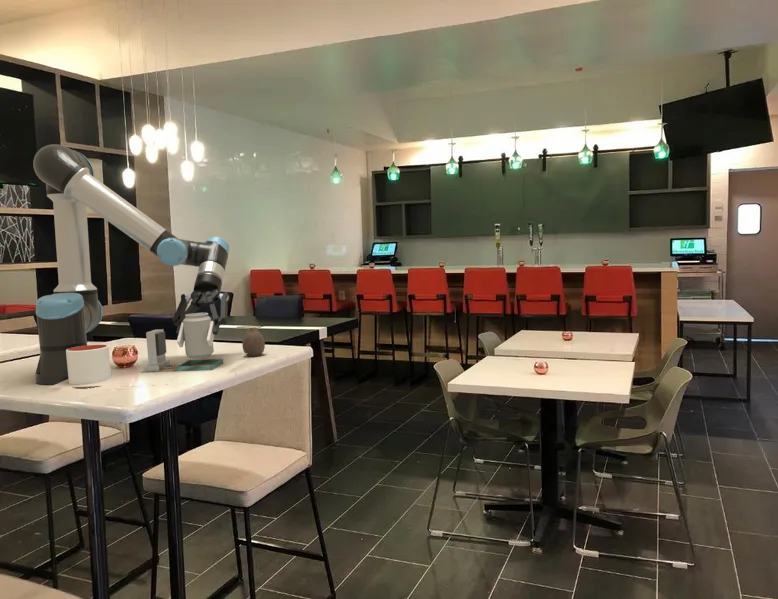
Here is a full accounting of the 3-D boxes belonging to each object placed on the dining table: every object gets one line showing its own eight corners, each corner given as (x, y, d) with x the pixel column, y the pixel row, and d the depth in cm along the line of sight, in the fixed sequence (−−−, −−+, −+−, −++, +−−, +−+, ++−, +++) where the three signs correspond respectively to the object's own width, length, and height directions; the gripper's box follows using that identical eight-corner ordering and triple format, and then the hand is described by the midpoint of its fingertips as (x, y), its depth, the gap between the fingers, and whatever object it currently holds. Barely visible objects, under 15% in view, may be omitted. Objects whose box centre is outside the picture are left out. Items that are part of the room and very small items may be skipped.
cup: (81, 391, 157) (77, 352, 156) (62, 387, 163) (58, 349, 162) (119, 383, 165) (115, 345, 164) (99, 379, 171) (96, 343, 170)
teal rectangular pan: (140, 378, 170) (139, 368, 170) (155, 370, 180) (154, 361, 180) (212, 375, 169) (211, 365, 169) (223, 367, 179) (223, 358, 179)
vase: (258, 357, 194) (257, 329, 193) (239, 357, 196) (237, 329, 195) (269, 353, 200) (267, 326, 200) (249, 353, 202) (248, 326, 202)
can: (180, 357, 174) (177, 314, 173) (204, 353, 179) (200, 311, 178) (195, 359, 169) (192, 315, 168) (219, 355, 175) (216, 312, 174)
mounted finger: (144, 371, 171) (141, 333, 170) (156, 366, 179) (153, 329, 178) (159, 371, 171) (156, 332, 170) (170, 365, 179) (167, 328, 178)
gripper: (246, 287, 187) (234, 350, 173) (179, 290, 188) (162, 353, 174) (240, 270, 182) (227, 333, 167) (171, 273, 183) (152, 337, 168)
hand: (194, 343), depth 170 cm, fingers closed on can, 7 cm apart
